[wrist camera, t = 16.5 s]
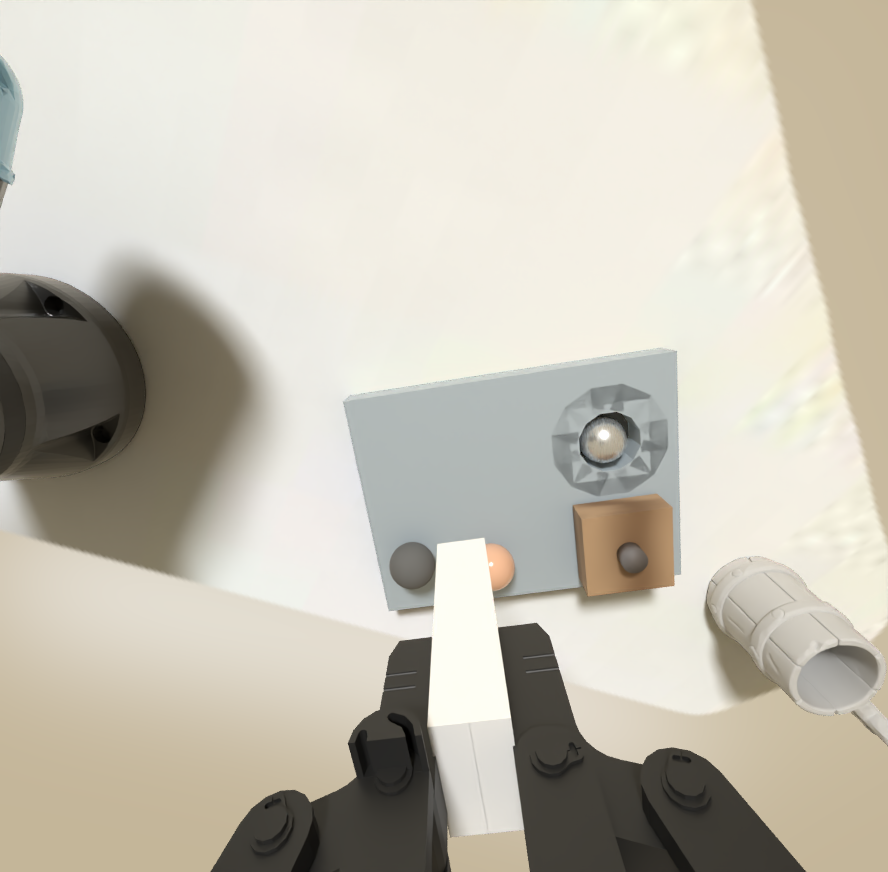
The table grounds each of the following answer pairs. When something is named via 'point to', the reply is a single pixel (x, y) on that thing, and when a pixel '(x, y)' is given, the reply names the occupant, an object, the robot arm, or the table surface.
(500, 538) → the board
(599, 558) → the cover
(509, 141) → the table surface
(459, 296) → the table surface
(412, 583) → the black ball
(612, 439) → the steel ball
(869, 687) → the mug
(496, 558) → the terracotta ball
